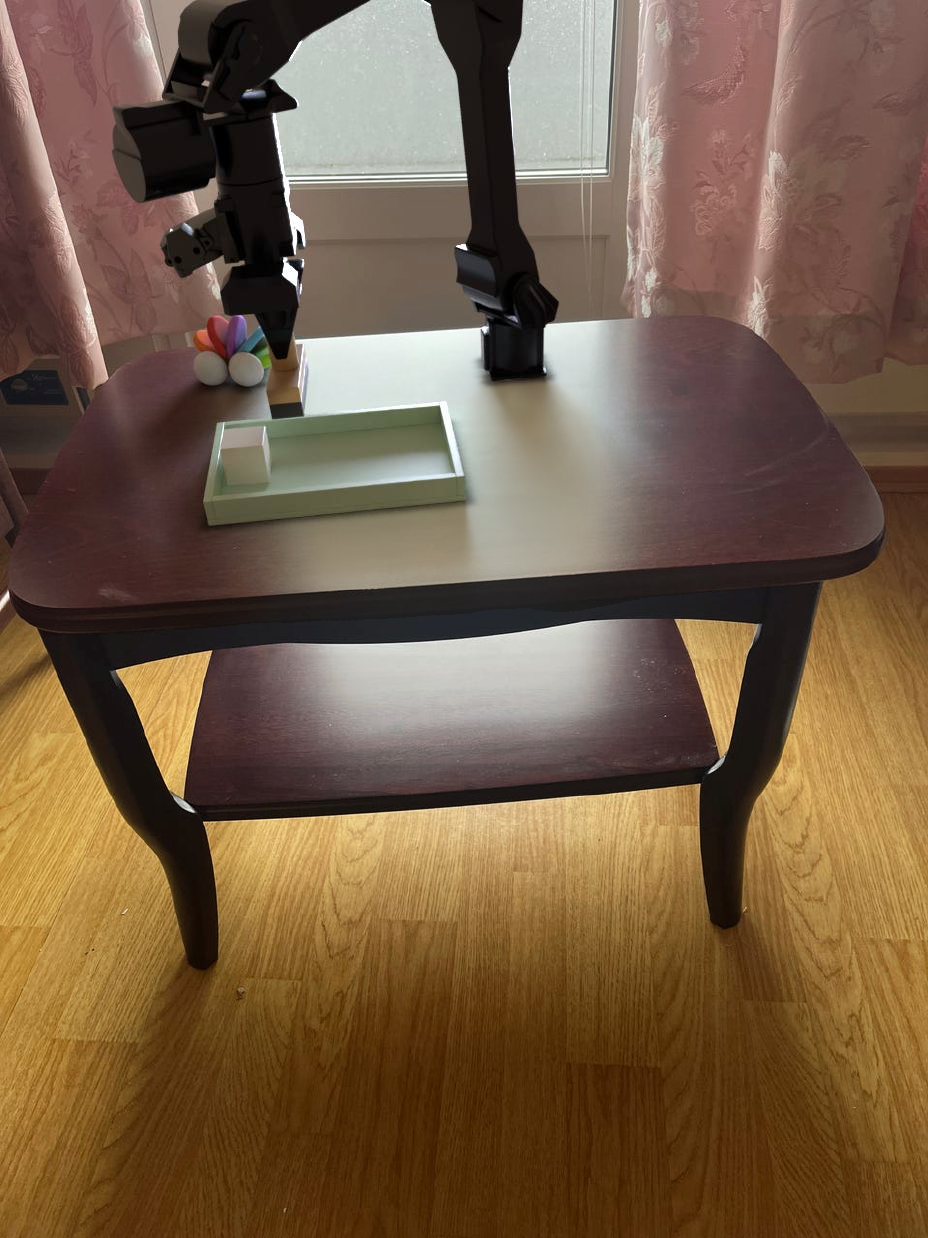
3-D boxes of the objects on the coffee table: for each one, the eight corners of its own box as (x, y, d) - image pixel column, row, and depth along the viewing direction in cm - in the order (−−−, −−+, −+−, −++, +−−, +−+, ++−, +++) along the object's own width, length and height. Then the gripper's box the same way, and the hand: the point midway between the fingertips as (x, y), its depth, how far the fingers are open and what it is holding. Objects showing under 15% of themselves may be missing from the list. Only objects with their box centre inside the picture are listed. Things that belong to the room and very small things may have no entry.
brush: (272, 419, 89) (252, 326, 83) (279, 374, 97) (262, 286, 91) (304, 416, 89) (286, 323, 83) (308, 371, 97) (293, 283, 91)
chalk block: (272, 462, 94) (265, 425, 91) (269, 482, 91) (262, 445, 88) (231, 465, 94) (223, 429, 91) (227, 486, 91) (219, 449, 88)
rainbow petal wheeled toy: (213, 359, 116) (201, 300, 111) (290, 361, 114) (280, 302, 110) (187, 389, 109) (172, 328, 105) (267, 392, 108) (256, 330, 103)
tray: (447, 423, 100) (446, 401, 98) (466, 500, 88) (464, 475, 86) (221, 445, 98) (216, 422, 97) (208, 526, 86) (202, 501, 85)
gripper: (169, 156, 87) (207, 322, 97) (135, 217, 73) (184, 404, 82) (291, 146, 88) (316, 312, 97) (281, 204, 73) (312, 392, 83)
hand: (282, 352), depth 90 cm, fingers closed on brush, 3 cm apart
